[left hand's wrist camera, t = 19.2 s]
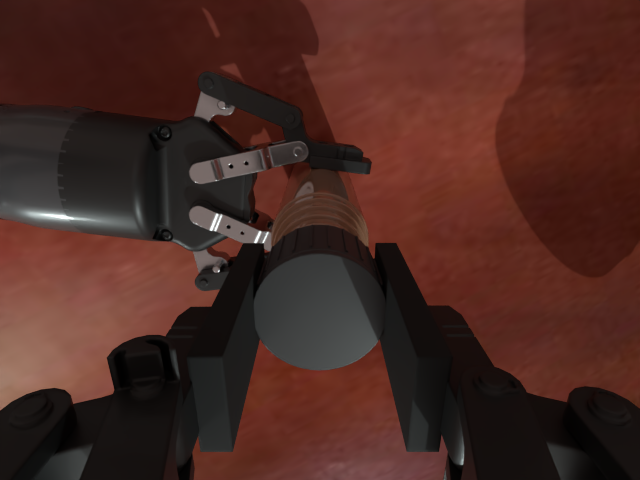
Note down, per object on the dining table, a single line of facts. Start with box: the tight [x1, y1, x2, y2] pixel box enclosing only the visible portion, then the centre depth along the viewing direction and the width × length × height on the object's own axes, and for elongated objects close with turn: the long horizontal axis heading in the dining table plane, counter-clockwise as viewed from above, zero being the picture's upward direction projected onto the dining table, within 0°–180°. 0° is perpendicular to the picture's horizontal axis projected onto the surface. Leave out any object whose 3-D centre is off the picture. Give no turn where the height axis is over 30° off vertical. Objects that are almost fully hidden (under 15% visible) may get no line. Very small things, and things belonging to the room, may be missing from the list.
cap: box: [253, 225, 386, 370], centre depth 13 cm, size 4×4×3 cm
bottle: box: [271, 162, 368, 247], centre depth 22 cm, size 5×5×20 cm
